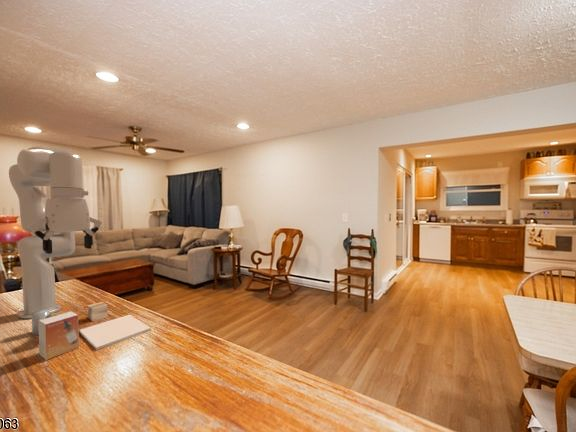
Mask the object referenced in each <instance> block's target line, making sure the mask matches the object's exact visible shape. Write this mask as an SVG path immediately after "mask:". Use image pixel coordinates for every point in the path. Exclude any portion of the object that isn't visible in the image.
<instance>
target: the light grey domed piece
mask: <svg viewBox="0 0 576 432" xmlns="http://www.w3.org/2000/svg"><path fill="white" fill-rule="evenodd" d="M48 315H49V310H48V309H44V310H38V311H35V312H33V313H32V318H31V328H32V329H31V330H32V335H33V336H34V335H35V336H39V326H38V321H39V320H41V319H45V318H46V317H47V316H48Z"/></svg>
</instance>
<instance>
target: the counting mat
mask: <svg viewBox="0 0 576 432" xmlns="http://www.w3.org/2000/svg"><path fill="white" fill-rule="evenodd" d="M148 330H150V331H151V330H152V327H150V326H148V325H147V324H145V322H143V321H141V320H139V319H138V318H136V317H135V316H133V315H132V314H128V315H127V314H126V315H124V316H120V317H117V318H114V319H111V320H107V321H103V322H100V323H97V324H94V325H91V326H88V327H87V326H86V327H84V328H81V329H79V334H80V335H81V336H82V337H83V338H84V339H85V340H86V341H87V342H88V343H89V344H90V345H91V346H92V347H93V348H94V349H95V350H96V351H98V350H101V349H103V348H106V347H108V346H112V345H115V344H117V343H119V342H122V341H125V340H127V339H128V340H129V339H131V338H133V337H136V336H138V335H141V333H142V334H144V333H147V332H149V331H148ZM146 331H147V332H146ZM143 332H144V333H143Z"/></svg>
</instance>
